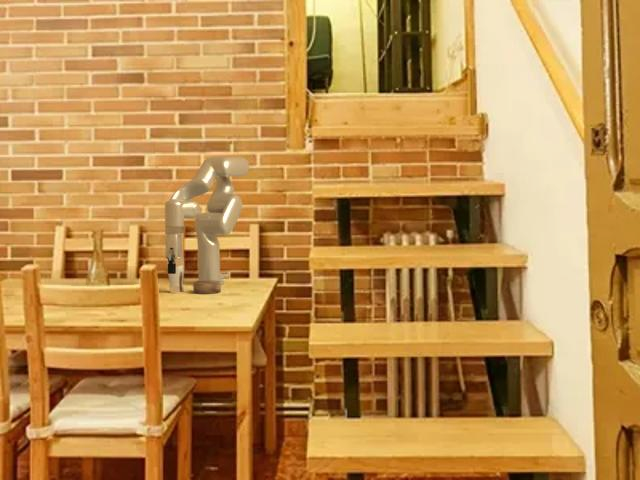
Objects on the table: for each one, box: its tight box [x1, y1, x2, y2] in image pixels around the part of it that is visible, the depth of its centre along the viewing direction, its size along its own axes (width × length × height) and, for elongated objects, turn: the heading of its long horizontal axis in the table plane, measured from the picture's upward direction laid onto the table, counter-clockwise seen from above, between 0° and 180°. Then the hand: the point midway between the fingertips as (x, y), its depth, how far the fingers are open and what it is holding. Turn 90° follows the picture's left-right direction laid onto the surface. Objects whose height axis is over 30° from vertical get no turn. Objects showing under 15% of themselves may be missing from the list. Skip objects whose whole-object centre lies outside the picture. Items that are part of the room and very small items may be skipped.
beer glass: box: [166, 254, 185, 294], centre depth 293 cm, size 7×7×15 cm
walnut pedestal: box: [192, 280, 221, 295], centre depth 293 cm, size 11×11×4 cm
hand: (174, 272), depth 292 cm, fingers open, 9 cm apart
